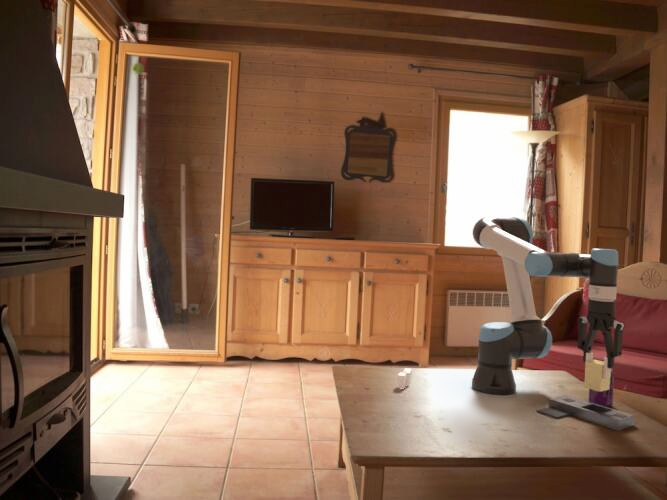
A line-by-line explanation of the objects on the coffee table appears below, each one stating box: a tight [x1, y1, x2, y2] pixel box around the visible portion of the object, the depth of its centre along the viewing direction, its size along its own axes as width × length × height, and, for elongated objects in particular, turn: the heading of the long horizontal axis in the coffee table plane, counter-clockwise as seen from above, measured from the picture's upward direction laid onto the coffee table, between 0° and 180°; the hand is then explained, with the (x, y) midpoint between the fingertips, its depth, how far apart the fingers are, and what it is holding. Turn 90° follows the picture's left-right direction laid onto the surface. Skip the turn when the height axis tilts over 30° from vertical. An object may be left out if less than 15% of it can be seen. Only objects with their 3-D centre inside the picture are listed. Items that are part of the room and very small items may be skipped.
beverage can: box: [588, 368, 615, 408], centre depth 173 cm, size 7×7×12 cm
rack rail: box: [548, 394, 635, 431], centre depth 160 cm, size 22×9×3 cm, turn 34°
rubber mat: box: [536, 406, 571, 420], centre depth 162 cm, size 7×7×1 cm
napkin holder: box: [397, 367, 412, 390], centre depth 187 cm, size 15×11×6 cm
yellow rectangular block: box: [584, 359, 610, 392], centre depth 159 cm, size 5×5×8 cm
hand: (597, 375), depth 159 cm, fingers closed on yellow rectangular block, 5 cm apart
